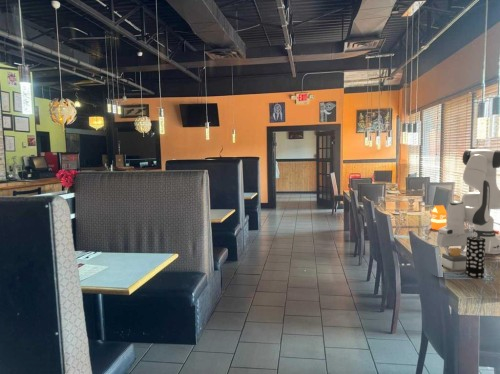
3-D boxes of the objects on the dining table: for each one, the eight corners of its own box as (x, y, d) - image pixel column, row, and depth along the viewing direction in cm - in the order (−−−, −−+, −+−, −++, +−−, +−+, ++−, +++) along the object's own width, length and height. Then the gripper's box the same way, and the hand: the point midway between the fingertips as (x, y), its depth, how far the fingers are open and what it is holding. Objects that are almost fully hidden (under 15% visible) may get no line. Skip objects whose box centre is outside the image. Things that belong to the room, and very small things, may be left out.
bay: (464, 261, 223) (464, 250, 223) (482, 268, 210) (482, 257, 209) (436, 263, 221) (437, 252, 220) (453, 270, 207) (453, 258, 206)
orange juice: (446, 229, 319) (446, 205, 317) (437, 229, 316) (438, 206, 315) (439, 227, 326) (440, 204, 324) (430, 228, 324) (431, 205, 322)
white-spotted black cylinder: (477, 273, 202) (478, 236, 200) (487, 278, 194) (489, 240, 192) (462, 273, 202) (463, 236, 200) (471, 278, 194) (473, 240, 192)
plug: (455, 259, 217) (455, 247, 216) (460, 260, 213) (460, 248, 212) (448, 259, 216) (449, 247, 216) (453, 261, 212) (454, 249, 212)
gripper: (467, 227, 218) (467, 251, 219) (435, 229, 215) (435, 252, 216) (476, 229, 211) (475, 253, 213) (442, 231, 208) (442, 255, 210)
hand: (454, 253), depth 214 cm, fingers open, 7 cm apart
